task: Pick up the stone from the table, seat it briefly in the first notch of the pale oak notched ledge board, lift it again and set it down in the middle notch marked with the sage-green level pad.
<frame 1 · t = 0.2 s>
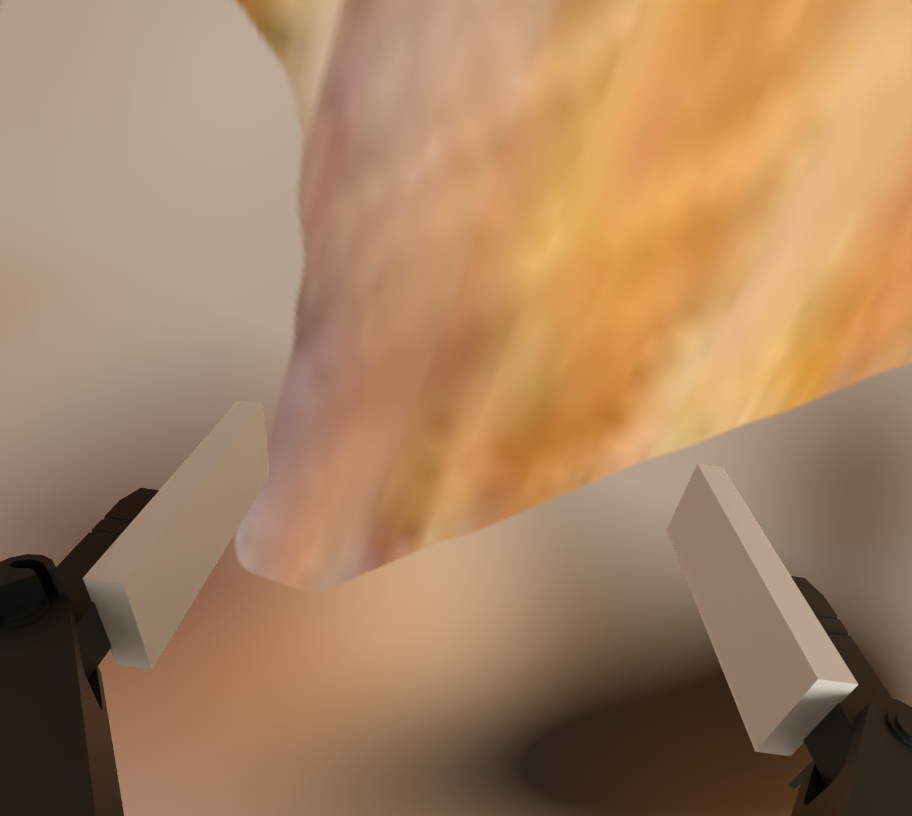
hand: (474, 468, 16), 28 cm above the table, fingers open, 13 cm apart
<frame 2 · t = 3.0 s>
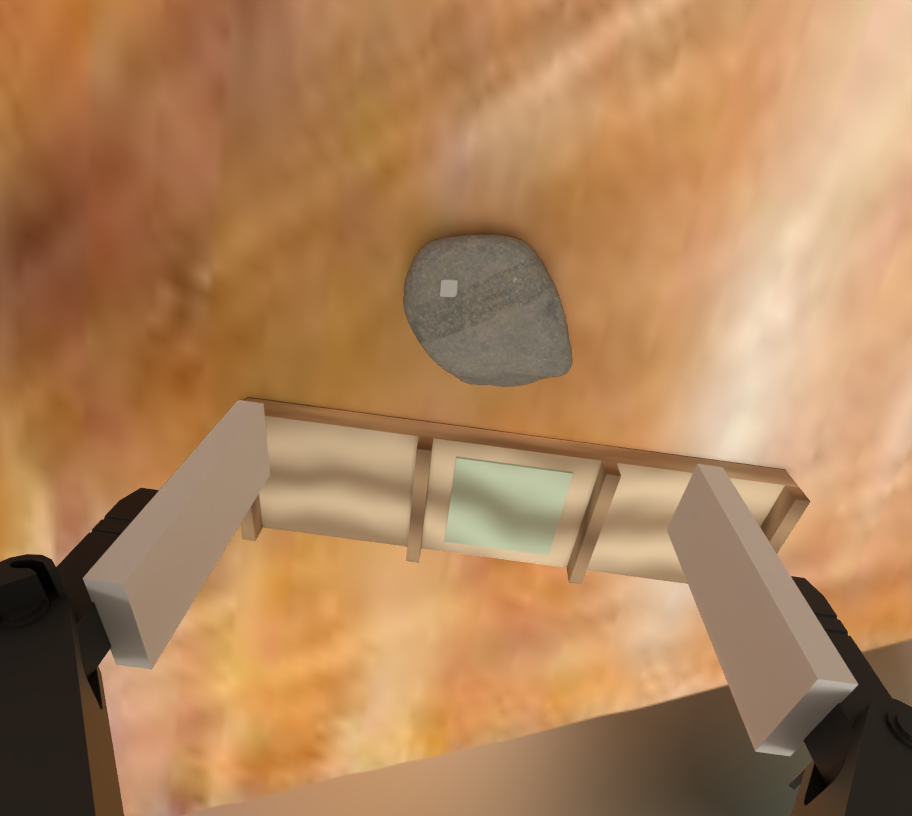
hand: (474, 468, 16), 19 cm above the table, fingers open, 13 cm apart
stone: (491, 306, 33), on the table
ledge: (504, 490, 40), on the table
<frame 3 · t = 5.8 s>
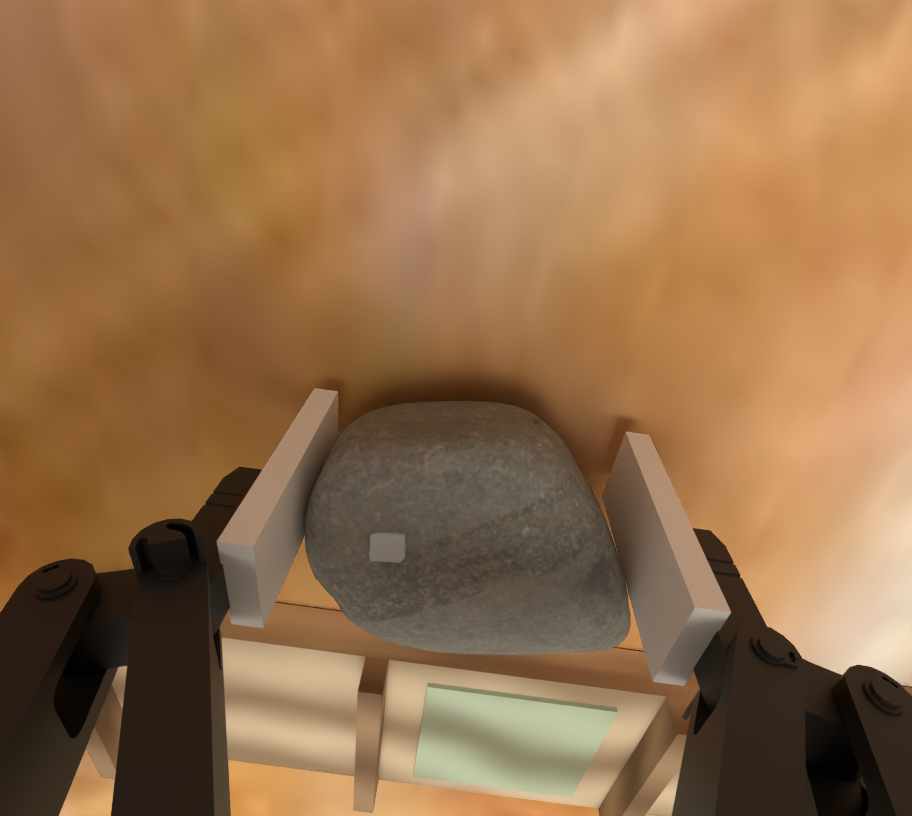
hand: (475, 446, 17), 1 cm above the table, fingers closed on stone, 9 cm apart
stone: (480, 486, 19), on the table, touching gripper
ledge: (505, 701, 26), on the table
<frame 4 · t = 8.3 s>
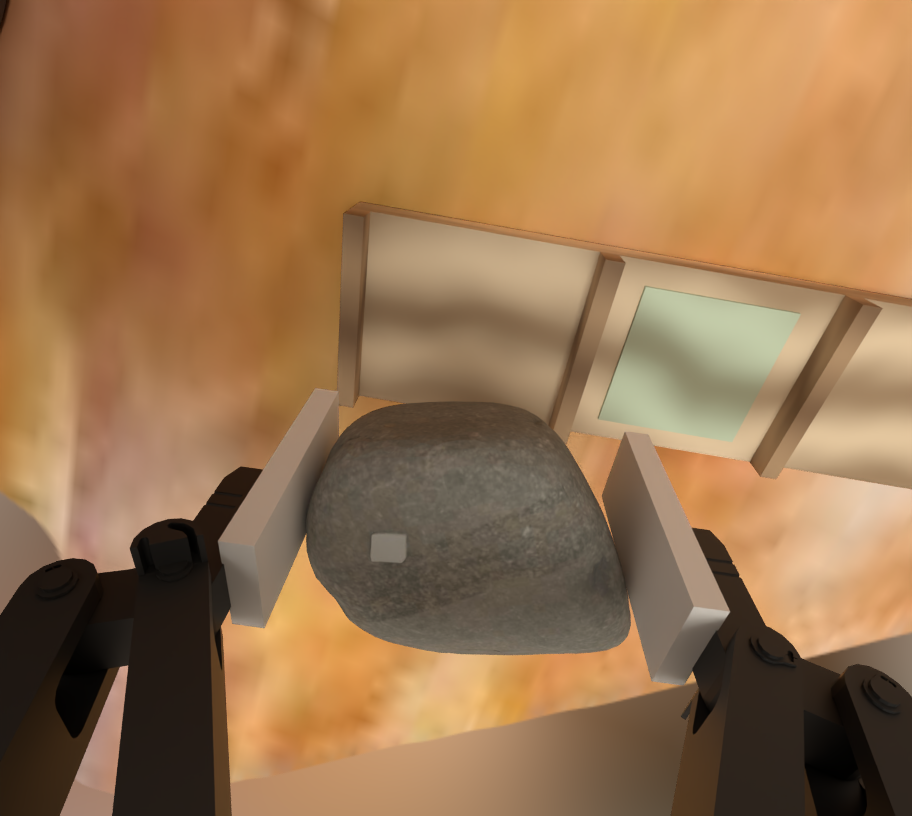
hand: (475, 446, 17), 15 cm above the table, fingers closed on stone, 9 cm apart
stone: (481, 487, 19), point 14 cm above the table, touching gripper
ledge: (680, 354, 31), on the table
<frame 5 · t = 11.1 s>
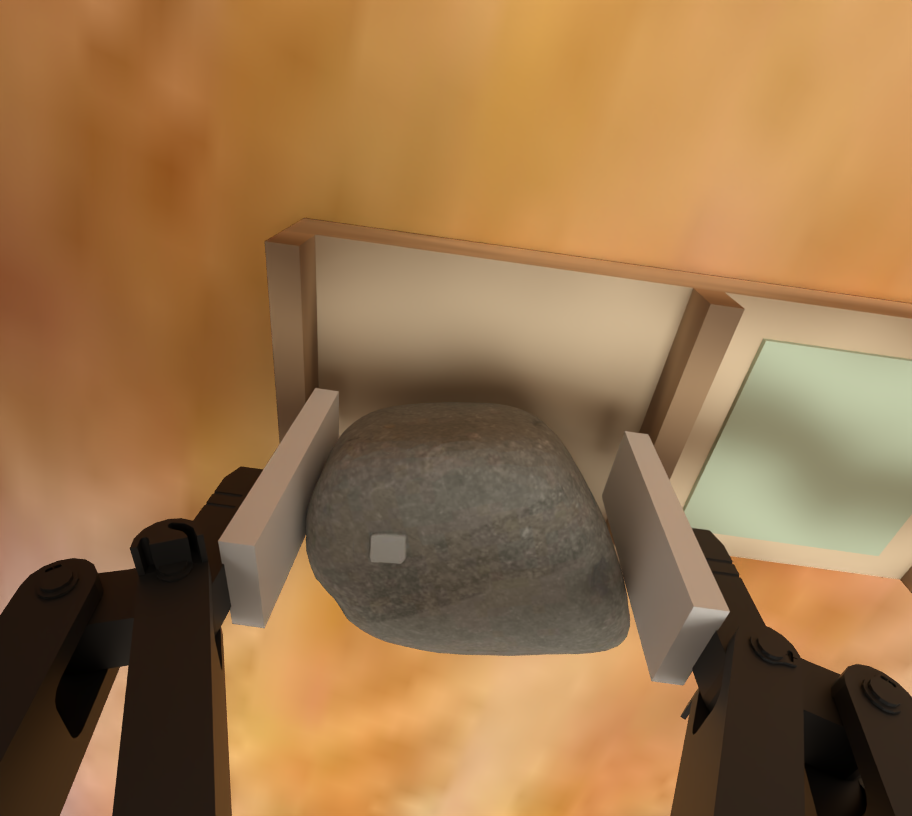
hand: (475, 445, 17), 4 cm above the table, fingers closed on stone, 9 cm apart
stone: (480, 487, 19), point 3 cm above the table, touching gripper
ledge: (798, 428, 20), on the table
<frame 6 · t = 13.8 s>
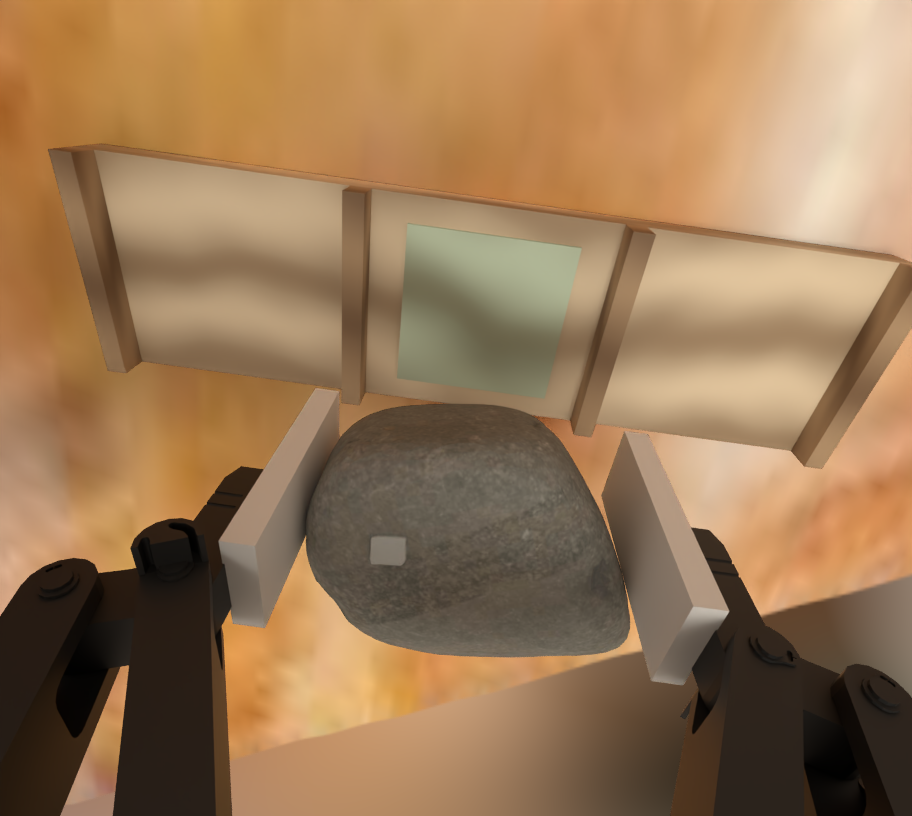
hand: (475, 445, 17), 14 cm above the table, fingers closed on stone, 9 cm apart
stone: (480, 489, 19), point 12 cm above the table, touching gripper
ledge: (482, 304, 28), on the table
when the fingers open (4 cm above the table, at t = 16.2 s): stone drops 1 cm, resting on ledge.
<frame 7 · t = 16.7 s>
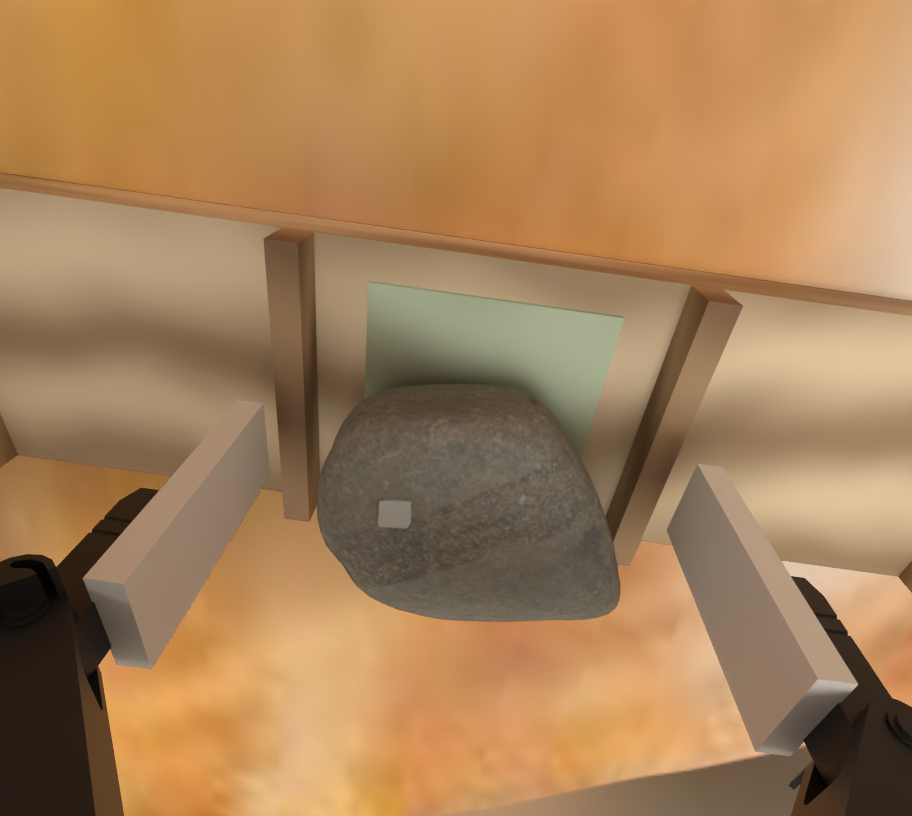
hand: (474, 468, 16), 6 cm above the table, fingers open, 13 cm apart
stone: (480, 468, 20), point 2 cm above the table, touching ledge
ledge: (479, 381, 20), on the table
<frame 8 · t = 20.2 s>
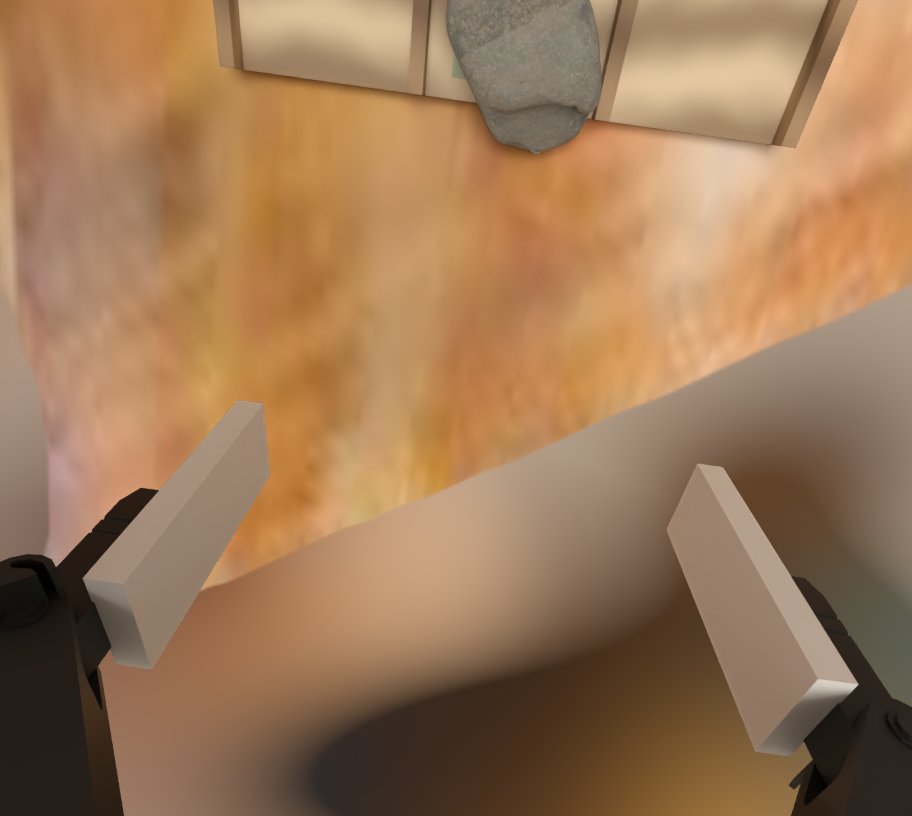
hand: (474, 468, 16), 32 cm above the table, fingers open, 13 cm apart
stone: (522, 63, 35), point 2 cm above the table, touching ledge
ledge: (521, 15, 35), on the table
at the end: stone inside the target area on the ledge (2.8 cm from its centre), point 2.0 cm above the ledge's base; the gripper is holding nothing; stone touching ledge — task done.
